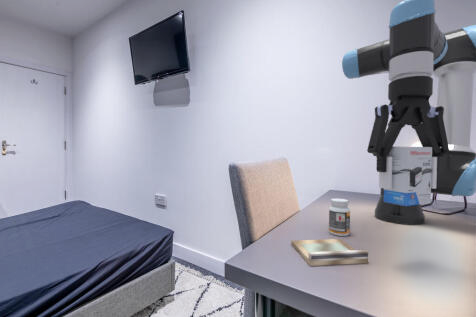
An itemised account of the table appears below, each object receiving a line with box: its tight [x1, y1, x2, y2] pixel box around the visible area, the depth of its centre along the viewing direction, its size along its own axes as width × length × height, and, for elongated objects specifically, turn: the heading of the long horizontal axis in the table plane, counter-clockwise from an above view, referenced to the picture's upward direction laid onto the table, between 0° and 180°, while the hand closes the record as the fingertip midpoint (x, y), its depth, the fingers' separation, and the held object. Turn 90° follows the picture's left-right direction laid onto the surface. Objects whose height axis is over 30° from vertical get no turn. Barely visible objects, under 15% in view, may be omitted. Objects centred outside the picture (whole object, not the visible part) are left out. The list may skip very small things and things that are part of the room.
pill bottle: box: [328, 198, 351, 237], centre depth 72 cm, size 6×6×10 cm
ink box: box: [384, 146, 432, 206], centre depth 51 cm, size 8×5×12 cm, turn 114°
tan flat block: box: [290, 238, 369, 267], centre depth 58 cm, size 13×12×2 cm
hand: (407, 187), depth 51 cm, fingers closed on ink box, 9 cm apart
